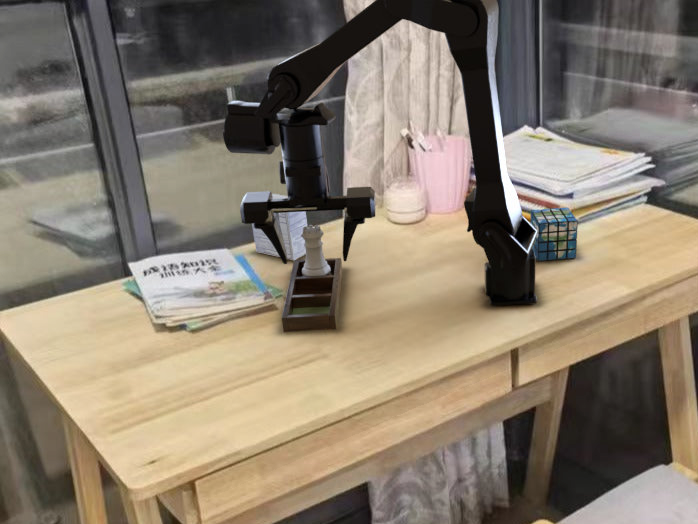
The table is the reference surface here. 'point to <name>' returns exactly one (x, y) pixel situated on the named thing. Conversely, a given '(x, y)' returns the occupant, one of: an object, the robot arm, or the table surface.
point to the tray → (312, 299)
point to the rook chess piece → (314, 253)
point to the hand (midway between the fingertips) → (315, 261)
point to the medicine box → (284, 234)
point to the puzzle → (554, 233)
